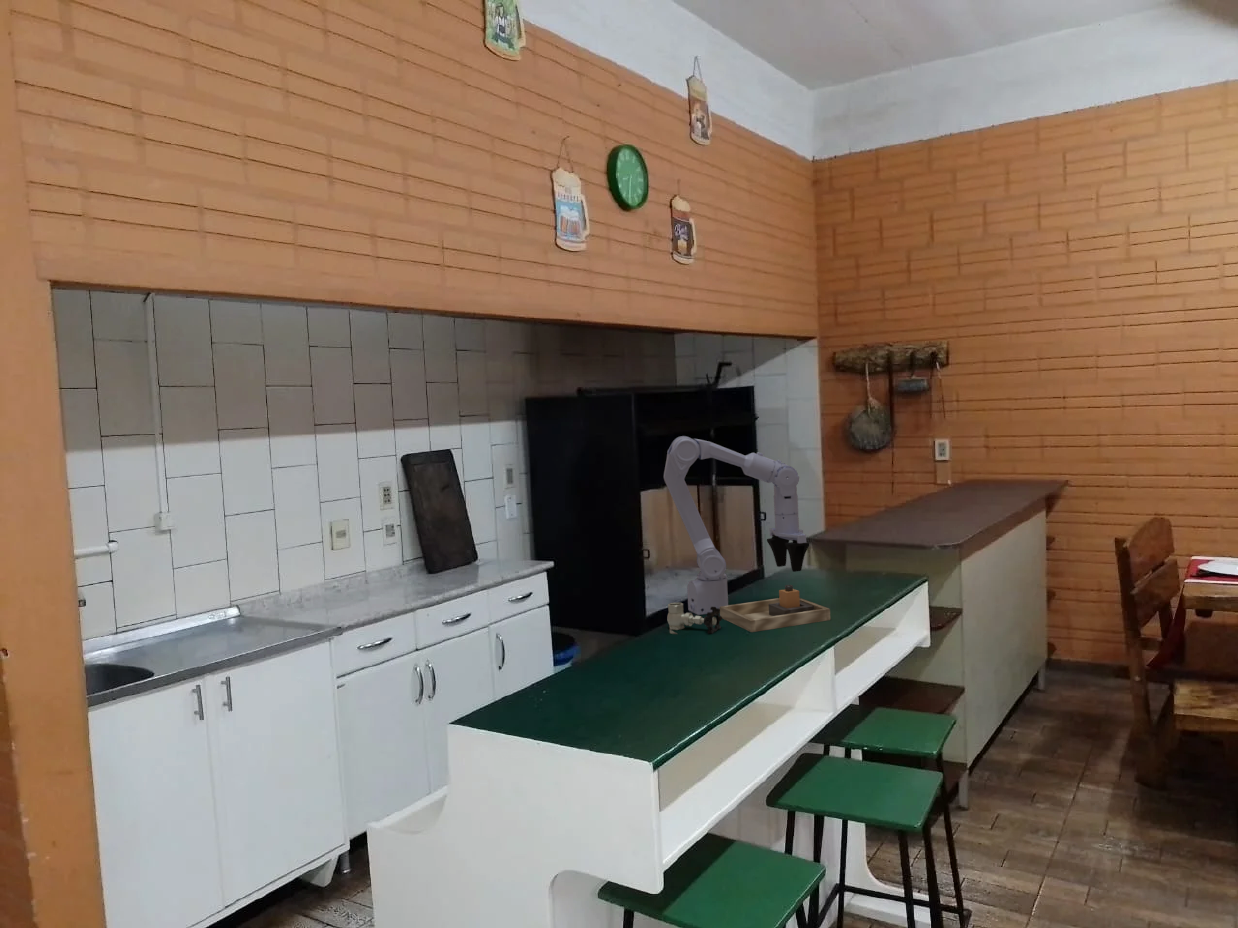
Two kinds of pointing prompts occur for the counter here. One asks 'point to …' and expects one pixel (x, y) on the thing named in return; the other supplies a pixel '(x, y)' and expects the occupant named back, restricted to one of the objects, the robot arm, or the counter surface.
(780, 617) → the walled box
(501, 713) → the counter surface
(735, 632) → the counter surface
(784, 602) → the connector
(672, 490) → the robot arm
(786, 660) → the counter surface
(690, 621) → the valve
